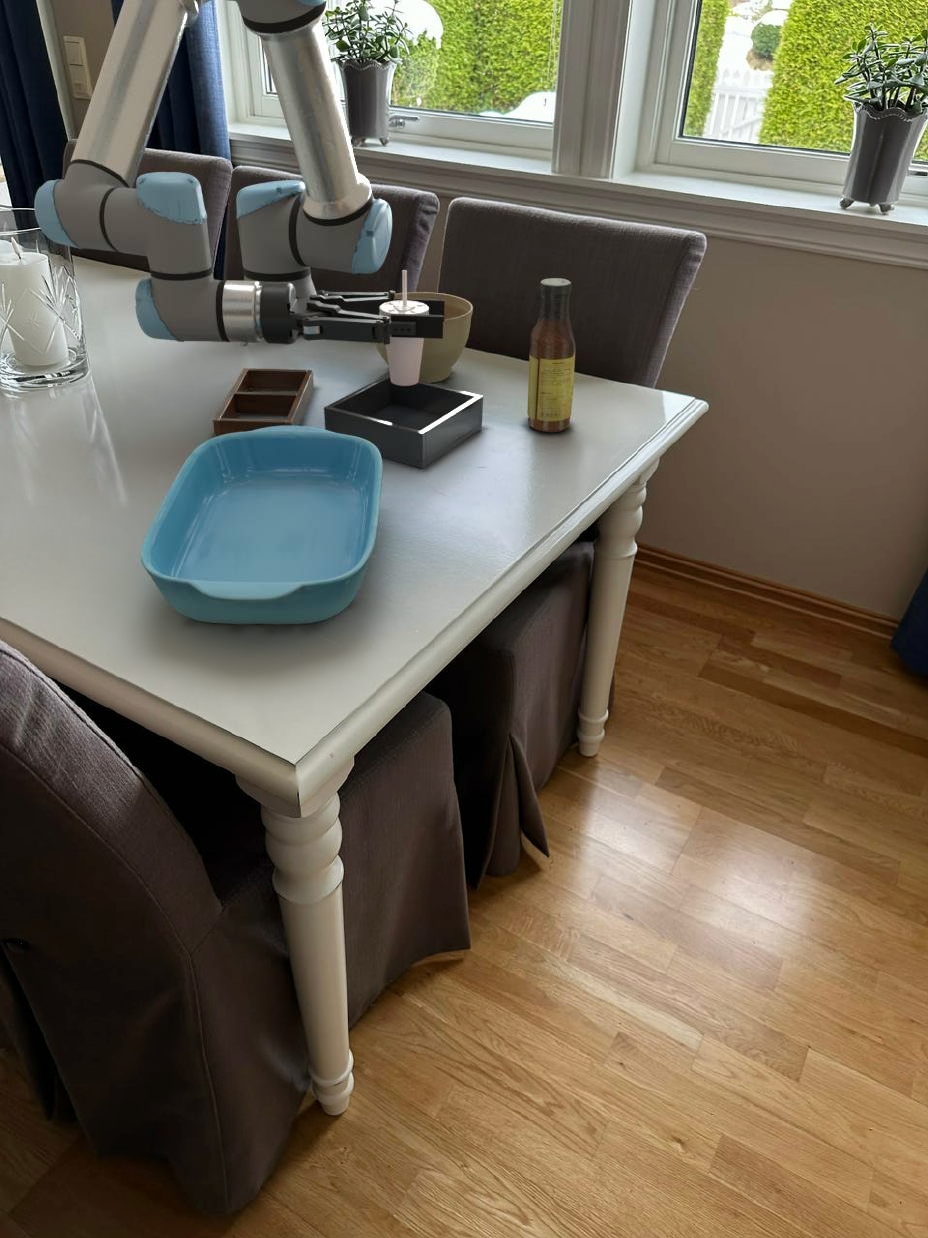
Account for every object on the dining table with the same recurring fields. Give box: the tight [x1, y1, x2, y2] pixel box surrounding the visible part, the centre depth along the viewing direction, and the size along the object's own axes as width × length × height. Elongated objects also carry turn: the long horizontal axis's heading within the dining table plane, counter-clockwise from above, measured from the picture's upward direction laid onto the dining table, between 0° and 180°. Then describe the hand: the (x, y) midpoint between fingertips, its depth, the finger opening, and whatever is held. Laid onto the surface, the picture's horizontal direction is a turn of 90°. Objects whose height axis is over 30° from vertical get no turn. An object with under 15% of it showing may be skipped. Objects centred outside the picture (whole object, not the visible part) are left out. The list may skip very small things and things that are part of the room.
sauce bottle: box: [526, 277, 577, 433], centre depth 123 cm, size 7×6×20 cm
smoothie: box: [379, 269, 429, 386], centre depth 116 cm, size 6×6×14 cm
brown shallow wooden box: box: [212, 367, 315, 437], centre depth 128 cm, size 20×10×3 cm, turn 0°
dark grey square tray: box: [323, 372, 484, 470], centre depth 123 cm, size 16×16×5 cm
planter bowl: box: [374, 291, 474, 384], centre depth 141 cm, size 16×16×11 cm
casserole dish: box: [139, 425, 384, 625], centre depth 96 cm, size 37×22×7 cm, turn 1°
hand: (443, 318), depth 115 cm, fingers closed on smoothie, 6 cm apart
